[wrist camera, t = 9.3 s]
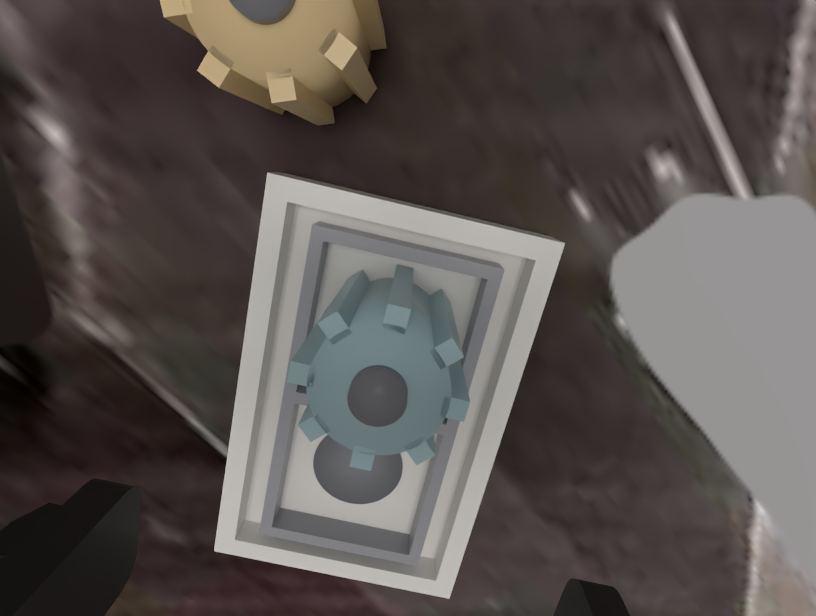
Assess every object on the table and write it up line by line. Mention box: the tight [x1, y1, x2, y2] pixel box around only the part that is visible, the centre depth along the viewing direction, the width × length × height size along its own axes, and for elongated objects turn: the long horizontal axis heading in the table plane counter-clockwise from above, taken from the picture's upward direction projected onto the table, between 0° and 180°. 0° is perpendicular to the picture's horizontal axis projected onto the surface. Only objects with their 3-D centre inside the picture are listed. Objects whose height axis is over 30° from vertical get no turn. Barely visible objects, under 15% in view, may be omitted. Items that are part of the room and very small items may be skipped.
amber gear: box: [160, 0, 386, 126], centre depth 17 cm, size 6×6×8 cm
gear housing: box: [214, 173, 565, 599], centre depth 24 cm, size 20×13×2 cm, turn 167°
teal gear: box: [287, 264, 470, 471], centre depth 19 cm, size 6×6×8 cm
